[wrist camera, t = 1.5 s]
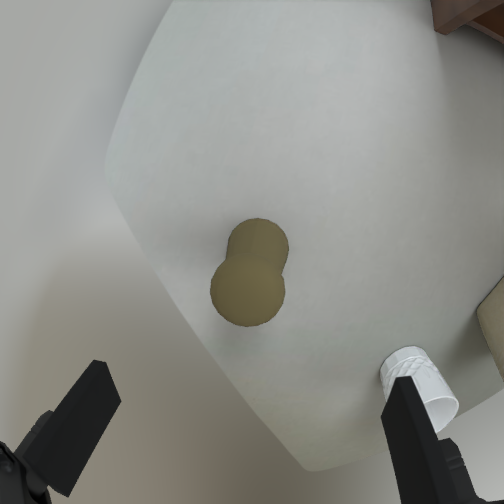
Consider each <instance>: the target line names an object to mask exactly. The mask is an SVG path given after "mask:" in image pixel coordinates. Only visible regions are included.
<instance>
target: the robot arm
mask: <svg viewBox="0 0 504 504" xmlns="http://www.w3.org/2000/svg"><path fill="white" fill-rule="evenodd" d="M120 403H121V399H120V397H119V394H118V392H117V389H116V387H115V385H114V382H113V379H112V377H111V374H110V372H109V369H108V366H107V364H106V362H102V361H97V360H93V361H92V362H91V364H90V365H89V366H88V368H87V369H86V370H85V371H84V373H83V374H82V375H81V376H80V378H79V379H78V380H77V381H76V383H75V384H74V385H73V387H72V388H71V389H70V391H69V392H68V393H67V395H66V396H65V397H64V399H63V400H62V401H61V403H60V404H59V405H58V407H57V408H56V409H55V411H54V412H53V411H50V410H49V411H47V412H45V413H44V414H43V415H41V416H40V418H39V419H38V420H37V422H36V423H35V425H34V426H33V427H32V428H31V431H29V433H28V434H27V435H26V436H25V438H24V439H23V441H22V442H21V444H20V445H19V446H18V448H17V449H16V450H15V452H14V453H12V452H11V450H10V449H9V448H8V447H7V446H6V444H5V443H3V442H1V441H0V504H52V502H51V498H50V494H49V491H48V489H47V486H48V485H49V486H50V487H51V488H52V489H54V490H55V491H56V492H58V493H60V494H62V495H64V496H66V497H69V495H70V493H71V491H72V489H73V488H74V486H75V484H76V482H77V479H78V478H79V476H80V474H81V472H82V470H83V469H84V467H85V465H86V463H87V461H88V459H89V458H90V456H91V454H92V452H93V451H94V449H95V447H96V445H97V443H98V442H99V440H100V438H101V436H102V434H103V433H104V431H105V429H106V427H107V425H108V424H109V422H110V420H111V418H112V417H113V415H114V413H115V412H116V410H117V408H118V406H119V405H120ZM381 420H382V424H383V427H384V431H385V435H386V439H387V443H388V446H389V450H390V454H391V459H392V463H393V467H394V471H395V476H396V480H397V484H398V489H399V494H400V499H401V504H504V500H499V501H492V502H486V501H485V500H484V499H482V498H479V497H478V496H477V495H476V493H475V491H474V488H473V485H472V482H471V479H470V477H469V474H468V471H467V469H466V466H464V461H463V458H461V453H460V451H459V448H458V446H457V445H456V444H455V443H454V442H453V441H452V440H451V439H450V438H447V439H443V440H438V438H437V435H436V433H435V430H434V428H433V425H432V423H431V420H430V418H429V415H428V413H427V410H426V408H425V406H424V403H423V401H422V399H421V397H420V394H419V392H418V390H417V388H416V385H415V383H414V381H413V379H412V377H411V376H403V377H396V378H395V381H394V384H393V387H392V389H391V392H390V395H389V397H388V400H387V402H386V405H385V407H384V410H383V412H382V415H381Z"/></svg>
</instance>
